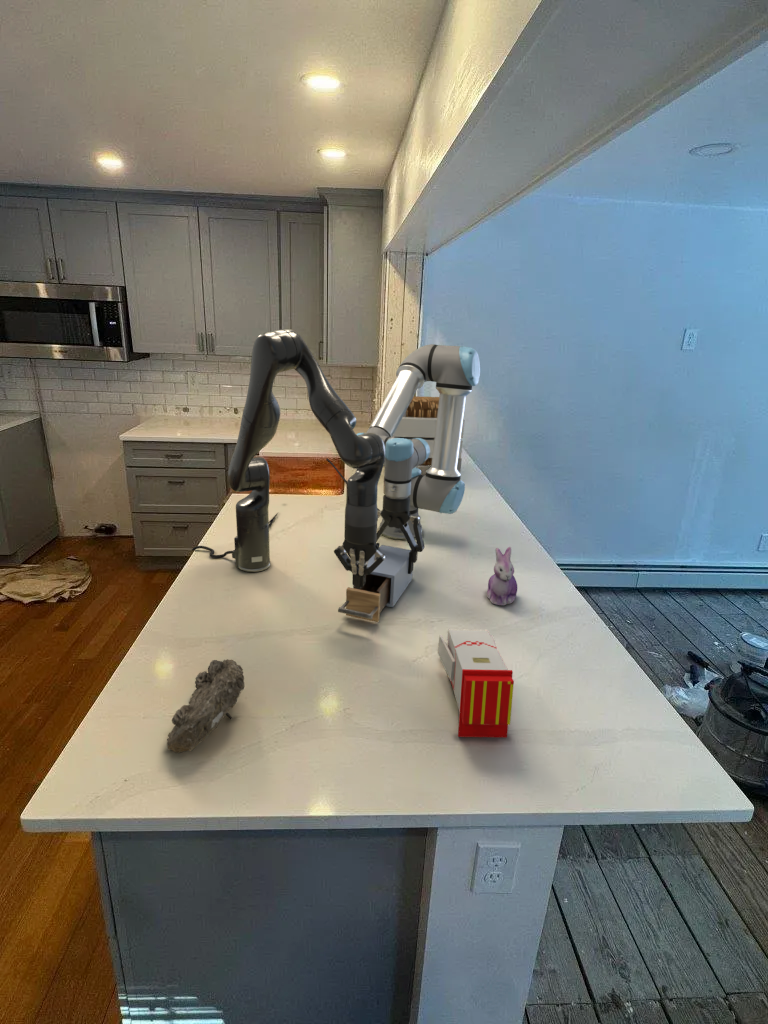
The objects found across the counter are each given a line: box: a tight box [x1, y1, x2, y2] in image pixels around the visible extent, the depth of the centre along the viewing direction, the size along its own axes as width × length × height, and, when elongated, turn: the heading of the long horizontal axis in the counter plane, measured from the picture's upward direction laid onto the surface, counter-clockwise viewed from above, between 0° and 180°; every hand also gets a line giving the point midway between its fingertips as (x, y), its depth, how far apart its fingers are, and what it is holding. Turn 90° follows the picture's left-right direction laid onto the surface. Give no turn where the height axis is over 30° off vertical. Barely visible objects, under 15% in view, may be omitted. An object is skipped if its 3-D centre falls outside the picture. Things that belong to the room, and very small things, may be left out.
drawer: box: [337, 574, 391, 623], centre depth 147 cm, size 22×9×8 cm, turn 161°
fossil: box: [166, 658, 245, 754], centre depth 106 cm, size 22×10×15 cm
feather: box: [269, 512, 279, 528], centre depth 210 cm, size 2×28×2 cm
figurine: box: [486, 546, 518, 606], centre depth 155 cm, size 9×10×15 cm
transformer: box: [383, 395, 465, 475], centre depth 268 cm, size 34×33×41 cm
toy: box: [437, 628, 515, 738], centre depth 117 cm, size 12×13×30 cm
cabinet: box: [367, 544, 413, 608], centre depth 158 cm, size 18×10×9 cm, turn 161°
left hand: (358, 587), depth 137 cm, fingers closed
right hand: (392, 568), depth 163 cm, fingers closed on cabinet, 10 cm apart
